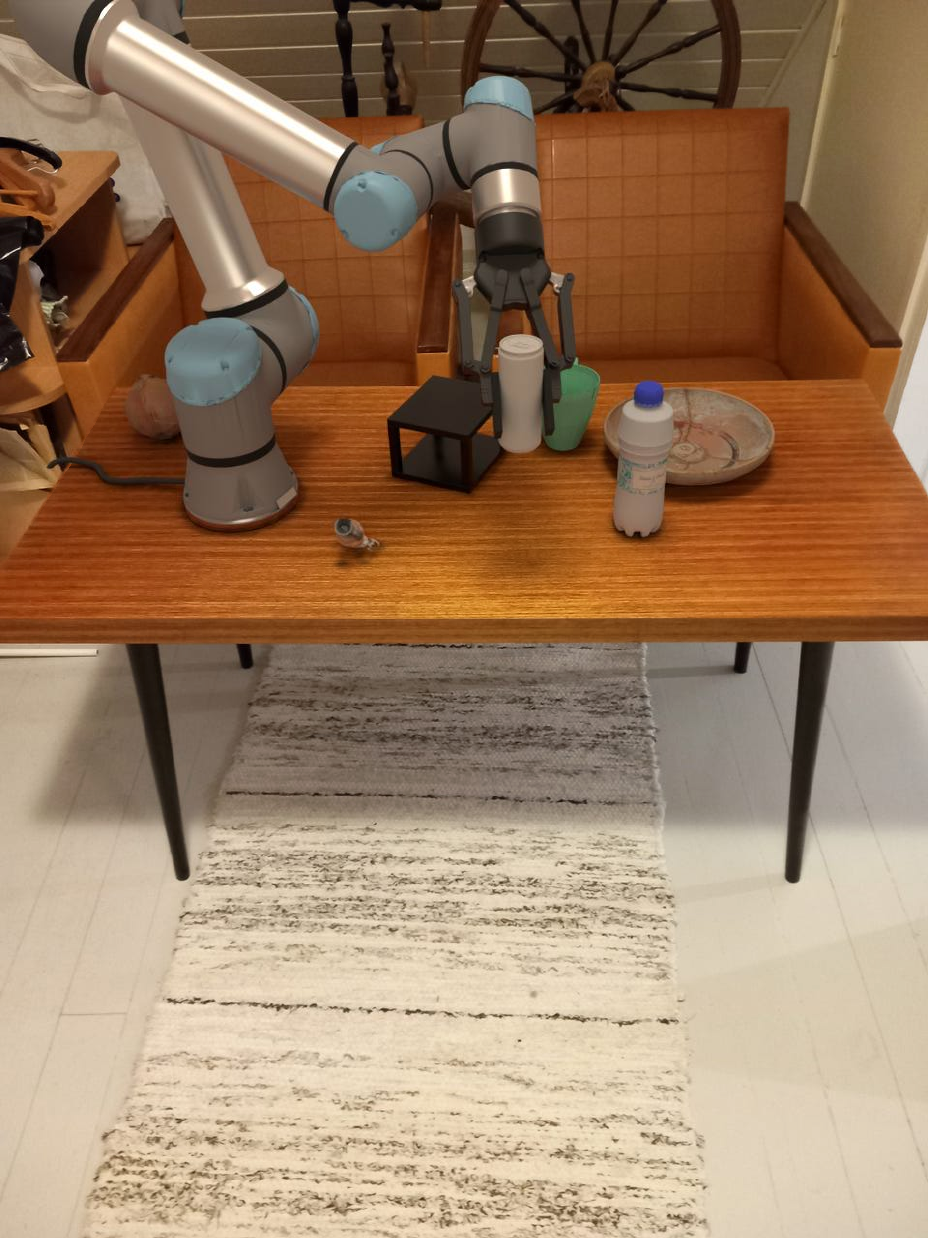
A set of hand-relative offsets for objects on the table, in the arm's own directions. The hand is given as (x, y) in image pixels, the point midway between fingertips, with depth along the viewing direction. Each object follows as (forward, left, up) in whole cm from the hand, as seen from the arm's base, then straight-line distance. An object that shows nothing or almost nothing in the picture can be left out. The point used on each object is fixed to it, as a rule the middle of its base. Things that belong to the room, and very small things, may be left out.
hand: (524, 433), depth 106 cm
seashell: (-22, -3, -20) cm, 30 cm away
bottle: (+9, +16, -20) cm, 27 cm away
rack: (-20, +22, -20) cm, 36 cm away
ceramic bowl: (+10, +35, -20) cm, 41 cm away
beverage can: (-2, +3, -4) cm, 5 cm away
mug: (-8, +35, -20) cm, 41 cm away
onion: (-64, +13, -20) cm, 68 cm away
